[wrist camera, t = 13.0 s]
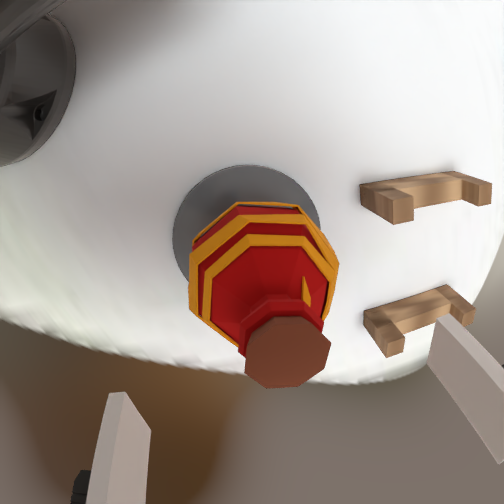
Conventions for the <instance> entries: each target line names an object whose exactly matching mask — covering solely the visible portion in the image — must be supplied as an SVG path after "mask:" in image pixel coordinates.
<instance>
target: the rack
mask: <svg viewBox="0 0 504 504" xmlns="http://www.w3.org/2000/svg"><path fill="white" fill-rule="evenodd" d="M491 194H492V183H489V182H486V181H483V180H480V179H477V178H474V177H471V176H468V175H465V174H462V173H458V172H455V171H450V172H442V173H435V174H427V175H420V176H412V177H405V178H398V179H392V180H385V181H378V182H372V183H366V184H360V195H361V205H362V206H363V207H365V208H367V209H368V210H370V211H372V212H373V213H375V214H377V215H378V216H380V217H382V218H383V219H385V220H386V221H388V222H390V223H391V224H393V225H395V224H400V223H404V222H409V221H414V209H415V208H420V207H425V206H430V205H435V204H441V203H446V202H451V201H456V200H461V199H462V200H464V201H467V202H469V203H472V204H474V205H476V206H483V205H487V204H491ZM475 310H476V309H475V307H473V306H472V305H471V304H470V303H469V302H468V301H466V300H465V299H464V298H463V297H462V296H460V295H459V294H458V293H457V292H456V291H454V290H453V289H452V288H451V287H450V286H448V285H444V286H441V287H438V288H435V289H432V290H429V291H426V292H423V293H420V294H417V295H414V296H411V297H408V298H405V299H402V300H399V301H395V302H392V303H389V304H386V305H382V306H379V307H376V308H372V309H369V310H365V311H364V327H365V328H366V329H367V331H368V332H369V334H370V335H371V337H372V338H373V340H374V341H375V342H376V344H377V345H378V347H379V348H380V350H381V351H382V353H383V354H384V356H385V357H386V358H388V357H391V356H393V355H396V354H399V353H402V352H403V349H404V342H405V337H404V335H403V334H405V333H408V332H411V331H414V330H416V329H419V328H422V327H424V326H427V325H430V324H432V323H435V322H436V318H439V317H441V316H444V315H446V314H448V313H450V314H451V315H452V316H453V317H454V318H455V319H456V320H457V321H458V322H459V323H460V324H461V325H462V326H463V327H465V326H467V325H469V324H471V323H473V319H474V314H475Z"/></svg>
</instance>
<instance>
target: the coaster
mask: <svg viewBox="0 0 504 504" xmlns="http://www.w3.org/2000/svg"><path fill="white" fill-rule="evenodd" d="M236 202H279V203H287V204H295V205H299V206H300V207H301V208H302V210H303V211H304V212H305V213H306V214H307V215H308V217H309V218H310V219H311V220H312V221H313V222H314V223H315V225H316V226H317V227H318V228H319V229H320V221H319V217H318V214H317V210H316V208H315V206H314V204H313V202H312V200H311V199H310V197H309V196H308V194H307V193H306V192H305V191H304V189H303V188H302V187H301V186H300V185H299V184H297V183H296V182H295V181H294V180H293V179H291V178H289V177H288V176H286V175H285V174H283V173H281V172H279V171H276V170H274V169H271V168H267V167H264V166H257V165H240V166H233V167H229V168H226V169H222V170H220V171H218V172H215V173H213V174H212V175H210V176H208V177H206V178H205V179H204V180H202V181H201V182H200V183H199V184H197V185H196V186H195V187H194V188H193V189H192V190H191V191H190V193H189V194H188V195H187V197H186V198H185V200H184V201H183V203H182V205H181V207H180V209H179V212H178V214H177V217H176V220H175V224H174V229H173V249H174V254H175V258H176V261H177V263H178V266H179V268H180V270H181V271H182V273H183V275H184V276H185V278H186V279H187V280H188V282H189V254H190V253H192V240H193V239H194V238H195V237H196V236H197V235H198V233H200V232H201V231H202V230H203V229H204V228H206V227H207V226H208V225H209V224H210V223H212V222H213V221H214V220H215V219H216V218H218V217H219V216H220V215H221V214H222V213H224V212H225V211H226V210H227V209H229V208H230V207H231V206H232V205H233V204H235V203H236ZM238 205H245V206H266V207H285V208H291V209H293V208H292V207H290V206H274V205H254V204H238ZM216 223H217V222H216ZM216 223H215V224H216ZM215 224H214V225H215ZM210 228H211V227H210ZM210 228H209V229H210ZM209 229H208V230H209ZM208 230H207V231H208ZM320 230H321V229H320ZM207 231H206V232H207ZM206 232H205V233H206ZM205 233H203V234H205ZM203 234H202V235H203ZM202 235H201V236H202ZM201 236H200V237H201Z"/></svg>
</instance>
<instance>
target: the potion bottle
mask: <svg viewBox="0 0 504 504" xmlns="http://www.w3.org/2000/svg"><path fill="white" fill-rule="evenodd" d="M238 204H254V205H274V206H290V207H292V208H293V209H291V208H285V207H266V206H245V205H238ZM216 222H217V223H216ZM215 223H216V224H215ZM214 224H215V225H214ZM210 227H211V228H210ZM209 228H210V229H209ZM208 229H209V230H208ZM207 230H208V231H207ZM206 231H207V232H206ZM205 232H206V233H205ZM203 233H205V234H203ZM202 234H203V235H202ZM201 235H202V236H201ZM200 236H201V237H200ZM338 268H339V262H338V259H337V257H336V255H335V252H334V250H333V249H332V247H331V245H330V244H329V242H328V240H327V239H326V237H325V235H324V234H323V233H322V232H321V230H320V229H319V228H318V227H317V226H316V225H315V223H314V222H313V221H312V220H311V219H310V218H309V217H308V215H307V214H306V213H305V212H304V211H303V210H302V208H301V207H300V206H299V205H295V204H287V203H279V202H236V203H235V204H233V205H232V206H231V207H230V208H229V209H227V210H226V211H225V212H224V213H222V214H221V215H220V216H219V217H218V218H216V219H215V220H214V221H213V222H212V223H210V224H209V225H208V226H207V227H206V228H204V229H203V230H202V231H201V232H200V233H198V235H197V236H196V237H195V238H194V239H193V240H192V253H190V254H189V286H188V294H189V309H190V310H191V311H192V312H193V313H194V314H195V315H196V316H197V317H198V318H199V319H201V320H202V321H203V322H204V323H206V324H207V325H208V326H210V327H211V328H212V329H214V330H215V331H216V332H218V333H219V334H220V335H222V336H223V337H224V338H226V339H227V340H228V341H230V342H231V343H232V344H234V345H235V346H237V347H238V352H239V353H240V354H241V355H243V356H244V357H245V358H246V361H245V372H244V373H245V374H247V375H248V376H249V377H251V378H252V379H254V380H255V381H257V382H258V383H259V384H261V385H262V386H263V387H265V388H284V387H297V386H300V385H301V384H302V383H304V382H306V381H307V380H309V379H310V378H311V377H313V376H314V375H316V374H317V373H319V372H320V371H322V370H323V369H324V368H325V364H326V361H327V357H328V353H329V350H330V346H331V342H330V341H329V340H328V339H327V338H326V337H325V336H324V335H323V334H322V330H323V325H324V322H323V321H324V320H325V318H326V317H327V315H328V313H329V310H330V306H331V302H332V298H333V294H334V290H335V285H336V279H337V274H338Z"/></svg>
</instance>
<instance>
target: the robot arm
mask: <svg viewBox="0 0 504 504" xmlns="http://www.w3.org/2000/svg"><path fill="white" fill-rule="evenodd" d="M64 1H66V0H0V167H1V166H5V165H9V164H12V163H15V162H18V161H21V160H23V159H25V158H27V157H28V156H30V155H31V154H33V153H34V152H35V151H36V150H38V149H39V148H40V147H41V146H42V145H43V144H44V143H45V142H46V141H47V139H48V138H49V137H50V136H51V134H52V133H53V131H54V130H55V128H56V127H57V125H58V124H59V122H60V120H61V118H62V116H63V114H64V112H65V110H66V107H67V105H68V102H69V99H70V96H71V93H72V89H73V84H74V78H75V67H76V62H75V51H74V46H73V43H72V40H71V37H70V35H69V33H68V31H67V30H66V28H65V27H64V26H63V25H62V24H61V23H60V22H59V21H58V20H56V19H55V18H53V17H51V16H49V15H48V13H49V12H50V11H52V10H53V9H55V8H56V7H57V6H59V5H60V4H62V3H63V2H64ZM427 365H428V366H429V367H430V368H431V370H432V371H433V372H434V374H435V375H436V376H437V378H438V379H439V380H440V382H441V383H442V384H443V385H444V387H445V388H446V390H447V391H448V392H449V394H450V395H451V396H452V398H453V399H454V401H455V402H456V403H457V405H458V406H459V407H460V409H461V410H462V411H463V413H464V414H465V416H466V417H467V419H468V420H469V422H470V423H471V424H472V426H473V427H474V429H475V430H476V432H477V433H478V435H479V436H480V438H481V439H482V441H483V442H484V444H485V445H486V446H487V448H488V449H489V451H490V453H491V454H492V456H493V457H494V459H495V460H496V462H497V463H498V465H499V464H500V463H502V462H503V461H504V365H502V366H500V364H499V363H498V362H497V361H496V360H495V359H494V358H493V357H492V356H491V355H490V354H489V353H488V352H487V351H486V349H485V348H484V347H483V346H482V345H481V344H480V343H479V342H478V341H477V340H476V339H475V338H474V337H473V336H472V335H471V334H470V333H469V332H468V331H467V330H466V329H465V328H464V327H463V326H462V325H461V324H460V323H459V322H458V321H457V320H456V319H455V318H454V317H453V316H452V315H451V314H450V313H448V314H446V315H444V316H441V317H439V318H436V323H435V328H434V333H433V338H432V342H431V347H430V351H429V355H428V359H427ZM150 435H151V429H150V428H149V427H148V425H147V424H146V422H145V421H144V419H143V418H142V417H141V415H140V414H139V412H138V411H137V409H136V408H135V406H134V405H133V403H132V402H131V400H130V398H129V397H128V395H127V394H126V393H125V392H119V393H109V396H108V400H107V404H106V408H105V412H104V416H103V420H102V424H101V428H100V433H99V437H98V442H97V447H96V451H95V456H94V461H93V466H92V471H88V470H81V471H80V473H79V474H78V476H77V477H76V479H75V481H74V486H73V491H72V492H73V494H72V496H71V504H145V499H146V482H147V469H148V456H149V445H150Z"/></svg>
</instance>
